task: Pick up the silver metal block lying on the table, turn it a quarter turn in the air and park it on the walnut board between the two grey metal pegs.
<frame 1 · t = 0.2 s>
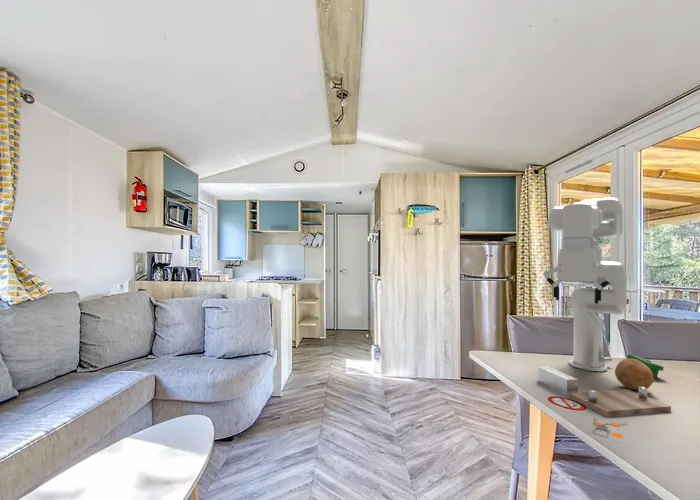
hand: (576, 301, 98), 30 cm above the table, tool pointing down, fingers open, 9 cm apart
clamp: (644, 374, 125), on the table
silver metal block: (557, 387, 110), on the table
peg board: (618, 404, 98), on the table
key chain: (608, 429, 84), on the table
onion: (633, 389, 110), on the table
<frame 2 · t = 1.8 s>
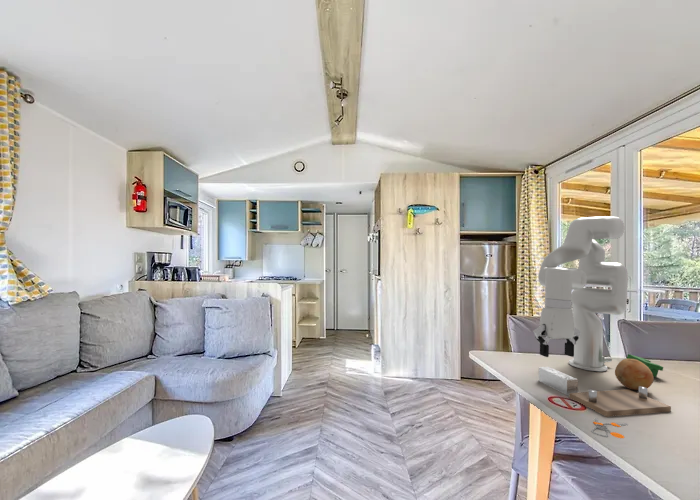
hand: (556, 355, 110), 11 cm above the table, tool pointing down, fingers open, 9 cm apart
nothing on the table moved.
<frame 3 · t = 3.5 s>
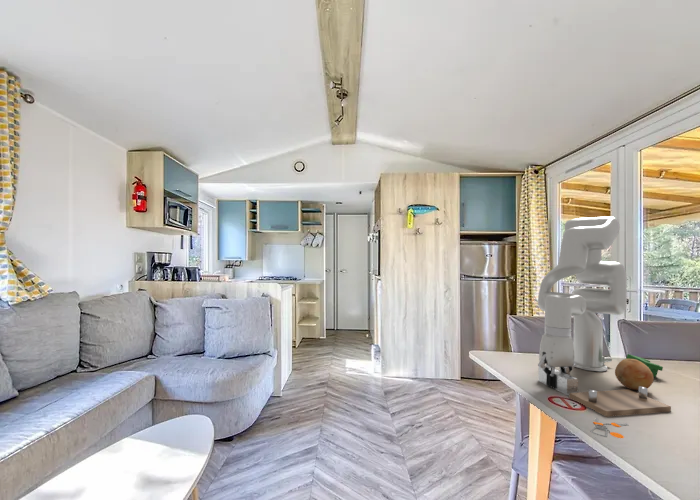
hand: (556, 386, 110), 0 cm above the table, tool pointing down, fingers closed on silver metal block, 4 cm apart
silver metal block: (557, 387, 110), on the table, touching gripper
everything else where it was.
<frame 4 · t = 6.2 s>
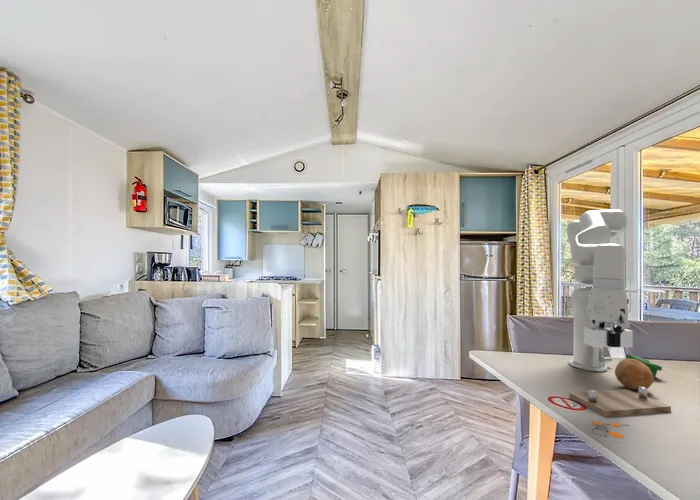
hand: (607, 344, 100), 17 cm above the table, tool pointing down, fingers closed on silver metal block, 4 cm apart
silver metal block: (607, 345, 100), point 17 cm above the table, touching gripper
everything else where it was.
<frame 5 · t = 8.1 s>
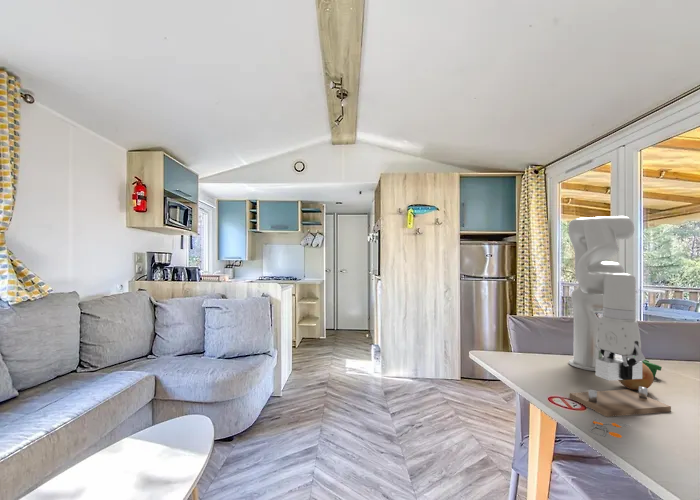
hand: (618, 375, 98), 9 cm above the table, tool pointing down, fingers closed on silver metal block, 4 cm apart
silver metal block: (618, 377, 98), point 8 cm above the table, touching gripper
everything else where it was.
when the fingers open (3 cm above the table, at t = 9.4 s): silver metal block drops 1 cm, resting on peg board.
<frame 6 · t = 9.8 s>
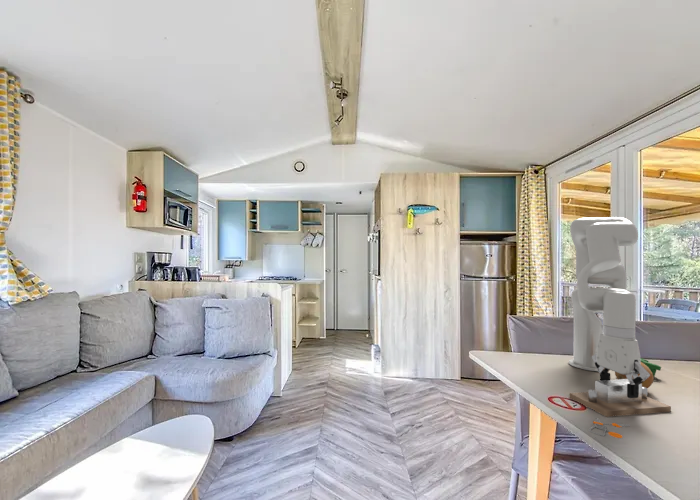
hand: (618, 391, 98), 4 cm above the table, tool pointing down, fingers open, 7 cm apart
silver metal block: (618, 399, 98), point 1 cm above the table, touching peg board
everything else where it was.
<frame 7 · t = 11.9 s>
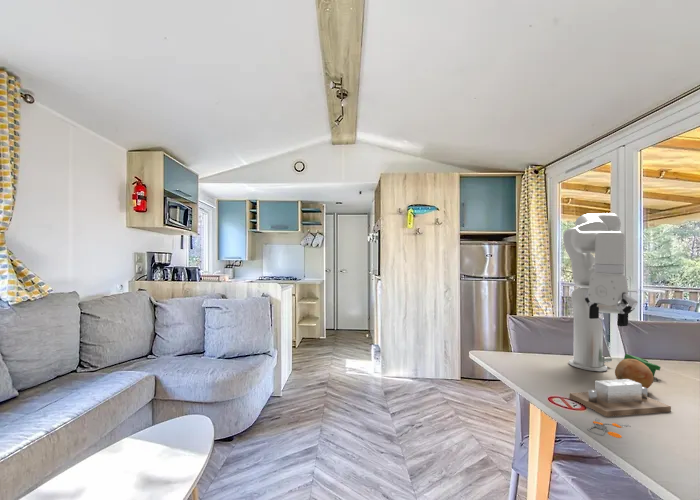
hand: (607, 322, 107), 23 cm above the table, tool pointing down, fingers open, 9 cm apart
nothing on the table moved.
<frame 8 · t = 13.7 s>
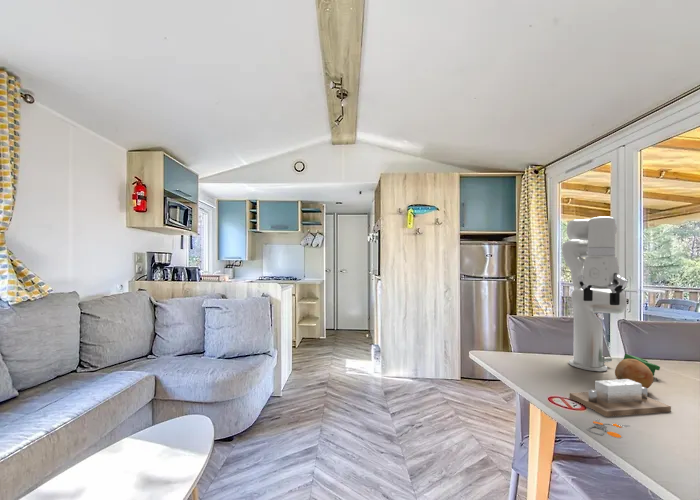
hand: (600, 302, 112), 28 cm above the table, tool pointing down, fingers open, 9 cm apart
at the end: silver metal block 0.1 cm off-centre on the peg board, point 1.5 cm above the peg board's base; silver metal block tilted 0°; the gripper is holding nothing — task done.
